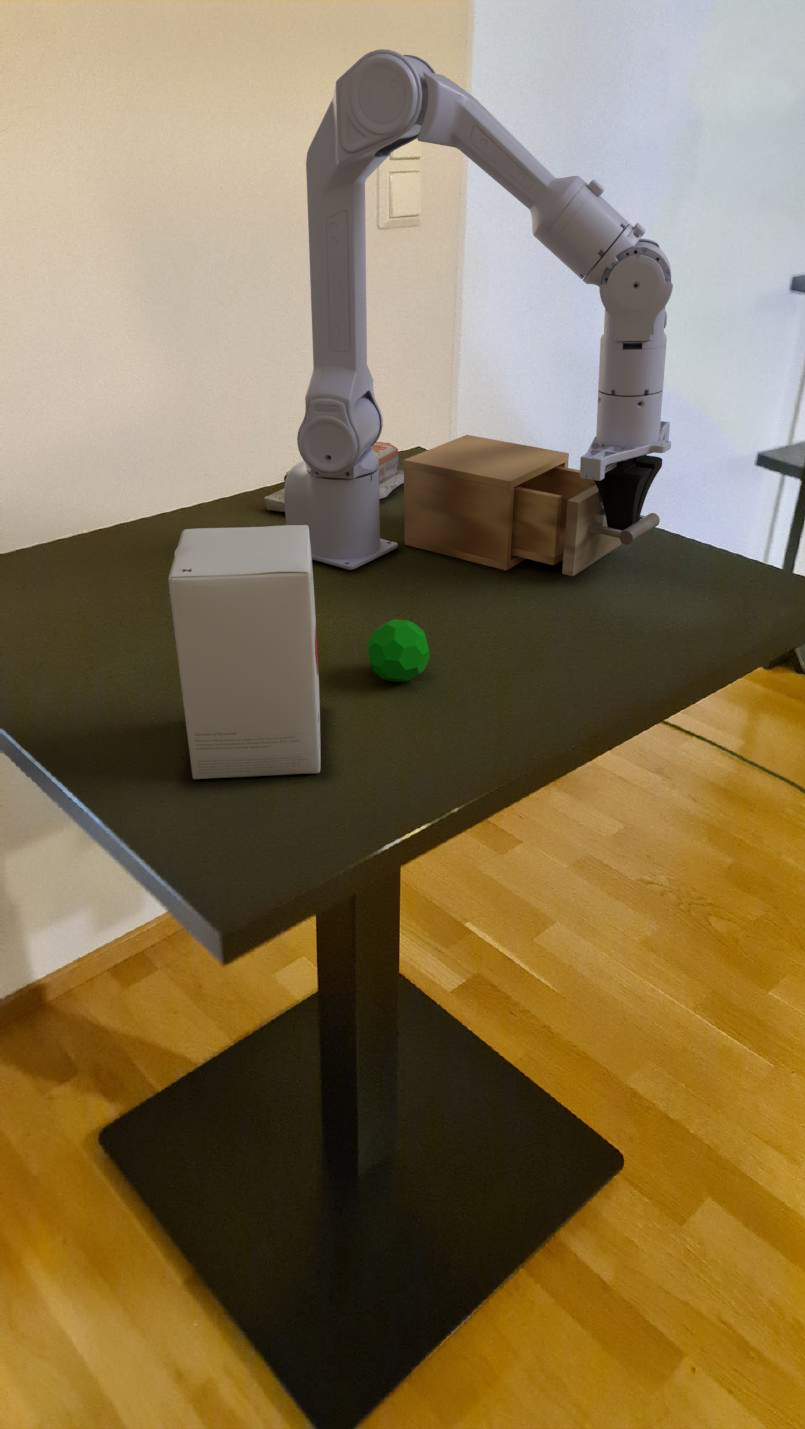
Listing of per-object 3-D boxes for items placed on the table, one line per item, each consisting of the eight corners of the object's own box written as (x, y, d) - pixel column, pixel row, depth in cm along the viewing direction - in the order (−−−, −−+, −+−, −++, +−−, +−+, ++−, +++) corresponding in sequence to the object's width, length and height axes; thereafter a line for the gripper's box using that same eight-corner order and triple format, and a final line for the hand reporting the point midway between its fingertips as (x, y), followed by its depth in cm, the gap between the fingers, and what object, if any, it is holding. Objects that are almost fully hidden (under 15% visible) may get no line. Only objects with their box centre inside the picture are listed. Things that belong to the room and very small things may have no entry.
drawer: (664, 554, 102) (673, 483, 99) (617, 587, 95) (625, 512, 92) (524, 522, 111) (528, 456, 107) (472, 551, 104) (474, 480, 100)
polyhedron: (365, 665, 84) (363, 612, 82) (424, 661, 85) (424, 608, 82) (371, 694, 80) (369, 639, 77) (433, 690, 80) (433, 635, 78)
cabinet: (563, 537, 109) (569, 453, 105) (506, 571, 101) (510, 481, 97) (464, 514, 116) (466, 434, 111) (404, 544, 108) (403, 459, 103)
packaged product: (345, 432, 129) (414, 442, 124) (346, 470, 131) (414, 481, 127) (260, 470, 115) (335, 482, 111) (263, 511, 117) (337, 525, 113)
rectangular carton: (323, 776, 70) (312, 571, 62) (191, 783, 69) (163, 577, 62) (321, 710, 78) (311, 521, 70) (202, 715, 77) (179, 526, 70)
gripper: (635, 411, 85) (626, 565, 92) (704, 377, 95) (691, 518, 102) (560, 403, 89) (556, 551, 95) (634, 371, 99) (626, 507, 105)
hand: (621, 533), depth 99 cm, fingers closed, pressing on drawer
